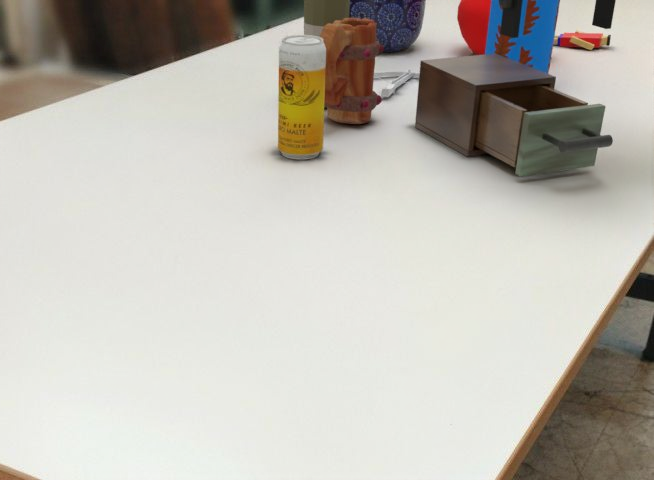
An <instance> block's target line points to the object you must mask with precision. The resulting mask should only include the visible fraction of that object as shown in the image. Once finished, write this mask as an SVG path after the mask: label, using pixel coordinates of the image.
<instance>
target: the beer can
mask: <svg viewBox="0 0 654 480" xmlns="http://www.w3.org/2000/svg"><path fill="white" fill-rule="evenodd" d="M325 70H326V47H325V44H324V42H323V38H321V37H318V36H312V35H304V34H293V35H287V36H284V37H282V38H281V42H280V44H279V46H278V95H277V97H278V98H277V99H278V100H277V101H278V102H277V104H278V105H277V106H278V112H277V114H278V115H277V116H278V117H277V118H278V119H277V149H278V150H279V152H281V155H282V156H283V157H285V158H287V159H289V160H290V159H291V160H298V161H299V160H300V161H302V160H312V159H314V158H317V157H318V156H319V154H320V153H321V152H322V151H323V149H324V128H325V127H324V125H325V123H324V122H325V108H324V99H325Z"/></svg>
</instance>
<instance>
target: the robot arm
mask: <svg viewBox="0 0 654 480" xmlns="http://www.w3.org/2000/svg"><path fill="white" fill-rule="evenodd" d="M522 1H523V0H499V5H500V6H502V7H503V13H502V21H501V30H500V34H502V35H505V36H508V37H511V38H518V34H519V26H520V18H521V10H522ZM616 1H617V0H595V5H594V11H593V17H592V23H591V24H592V26H594V27H598V28H601V29H604V30H610V29H612V25H613V19H614V12H615V7H616Z"/></svg>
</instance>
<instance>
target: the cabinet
mask: <svg viewBox="0 0 654 480" xmlns="http://www.w3.org/2000/svg"><path fill="white" fill-rule="evenodd" d="M419 62H420V63H419V78H418V85H417V97H416V98H417V99H416V109H415V122H414V128H416V129H418V130H419V131H421V132H423V133H425V134H426V135H428V136H430V137H432V138H433V139H436V140H437V141H439V142H440V143H442V144H444V145H446V146H448V147H450V148H451V149H452V150H454V151H456V152H458V153H460V154H462V155H464V156H465V157H467V158H469V157H470V158H471V157H478V156H485V155H490V154H489V153H487V152H485V151H483V150H481V149H480V148H478V147H476V146H474V139H475V130H476V122H477V114H478V105H479V97H480V91H483V90H493V89H502V88H511V87H521V86H530V85H539V84H542V85H545V86H547V87H550V88H552V89H555V86H556V81H557V80H556V79H557V76H555V75H552V74H549V73H548V74H547V73H545V72H542V71H539V70H537V69H534V68H532V67H529V66H526V65H524V64H521V63H519V62H516V61H514V60H511V59H508V58H506V57H503V56H501V55H498V54H496V53H495V54H485V55H476V54H474V55H464V56H455V57H443V58H433V59H432V58H431V59H421V60H420V61H419Z"/></svg>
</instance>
